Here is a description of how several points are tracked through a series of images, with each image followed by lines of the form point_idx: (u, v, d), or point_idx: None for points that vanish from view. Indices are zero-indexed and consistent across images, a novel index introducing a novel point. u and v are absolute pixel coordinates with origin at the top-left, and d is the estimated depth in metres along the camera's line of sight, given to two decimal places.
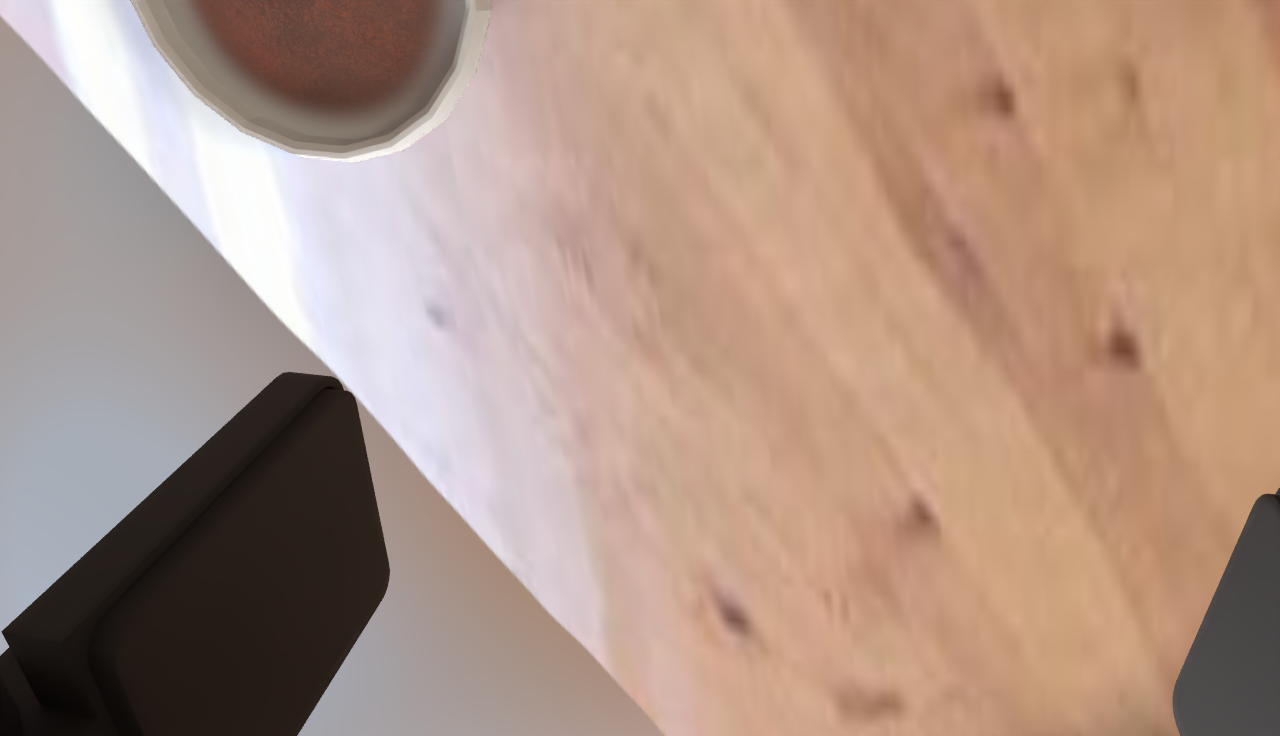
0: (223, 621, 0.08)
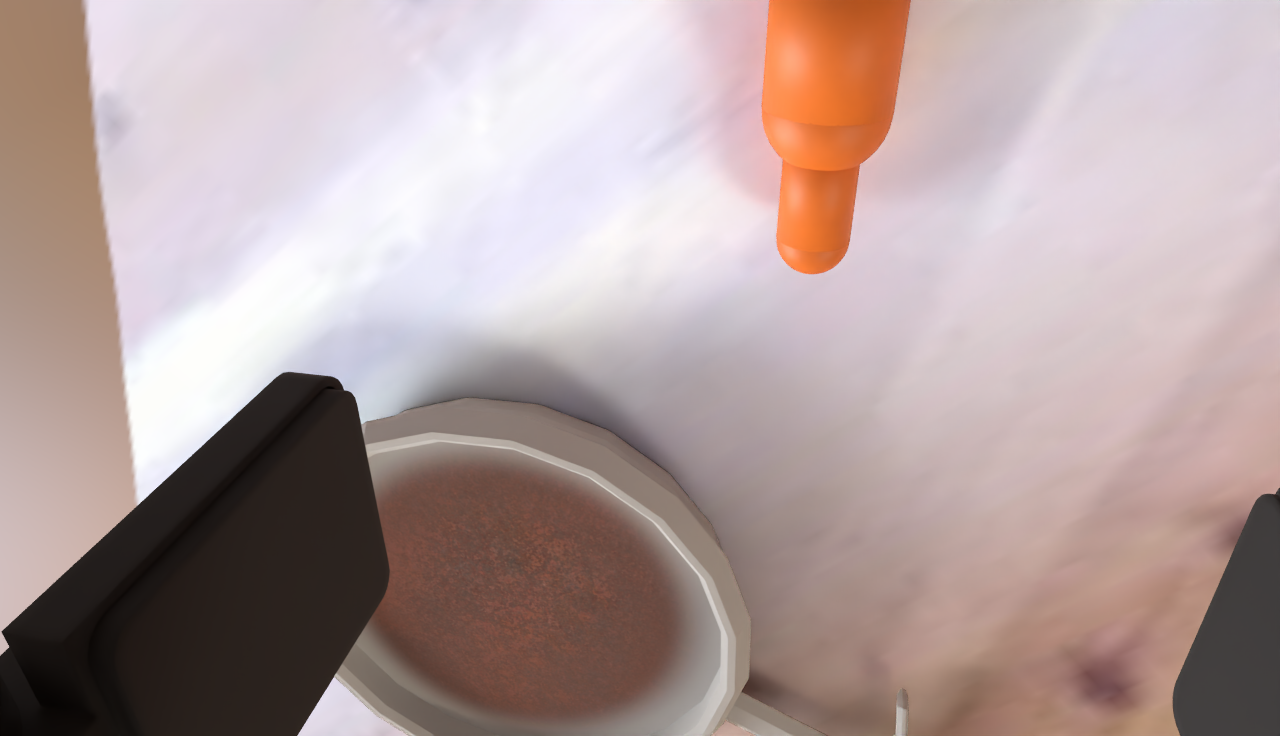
0: (223, 621, 0.08)
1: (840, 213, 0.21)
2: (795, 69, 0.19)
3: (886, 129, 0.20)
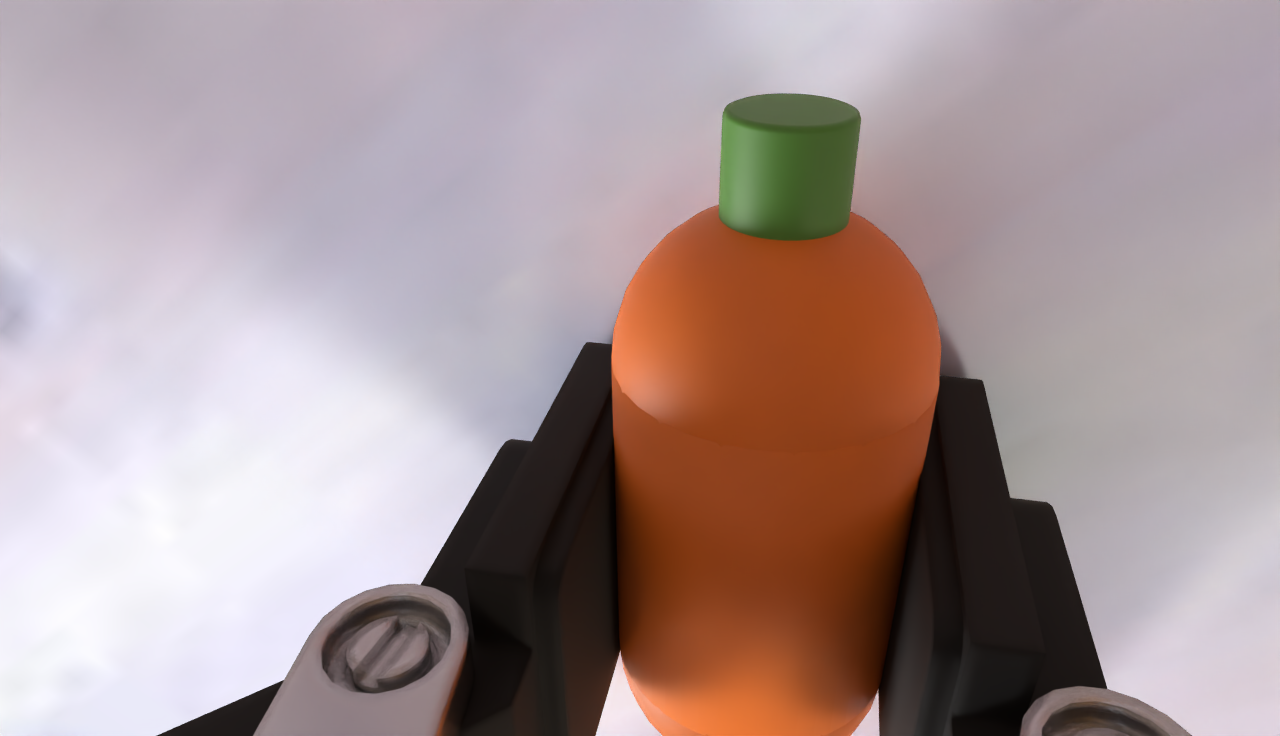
0: (594, 569, 0.08)
1: None
2: (667, 639, 0.09)
3: (870, 706, 0.10)
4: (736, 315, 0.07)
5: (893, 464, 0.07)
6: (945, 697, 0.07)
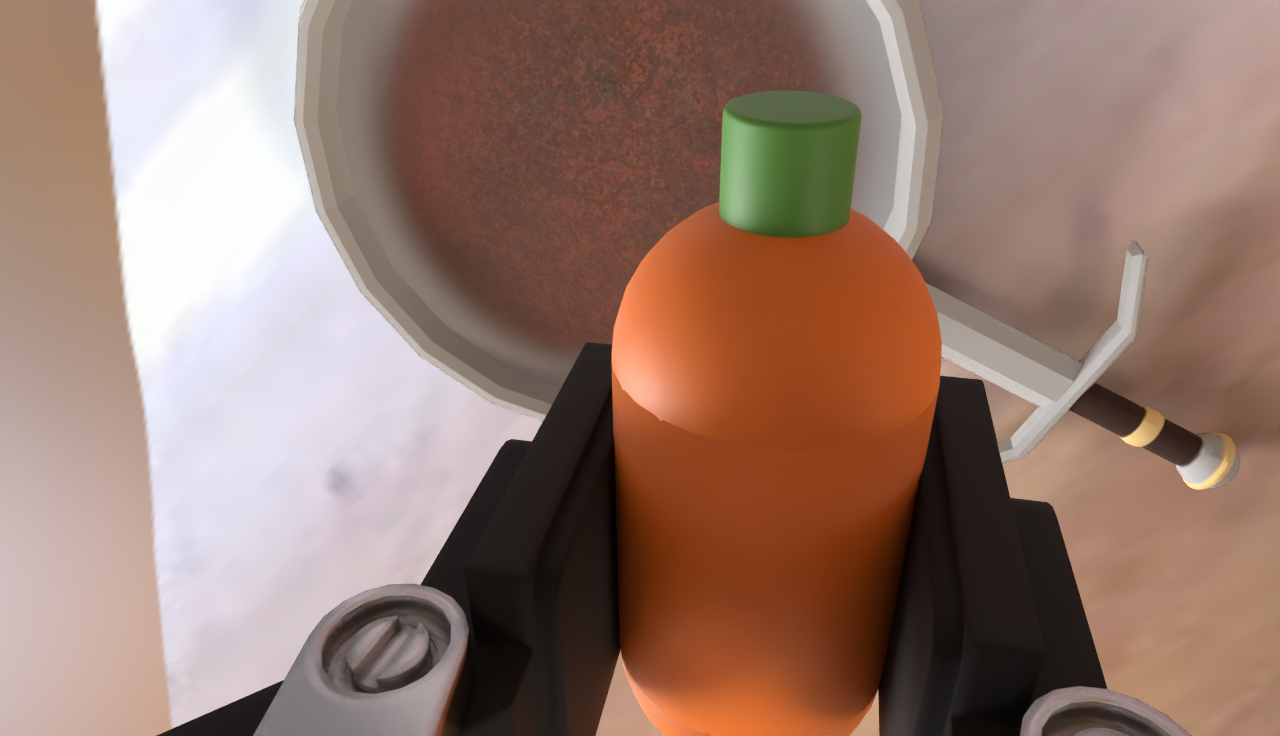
0: (593, 569, 0.08)
1: None
2: (667, 637, 0.09)
3: (871, 704, 0.10)
4: (736, 312, 0.07)
5: (893, 462, 0.07)
6: (945, 697, 0.07)
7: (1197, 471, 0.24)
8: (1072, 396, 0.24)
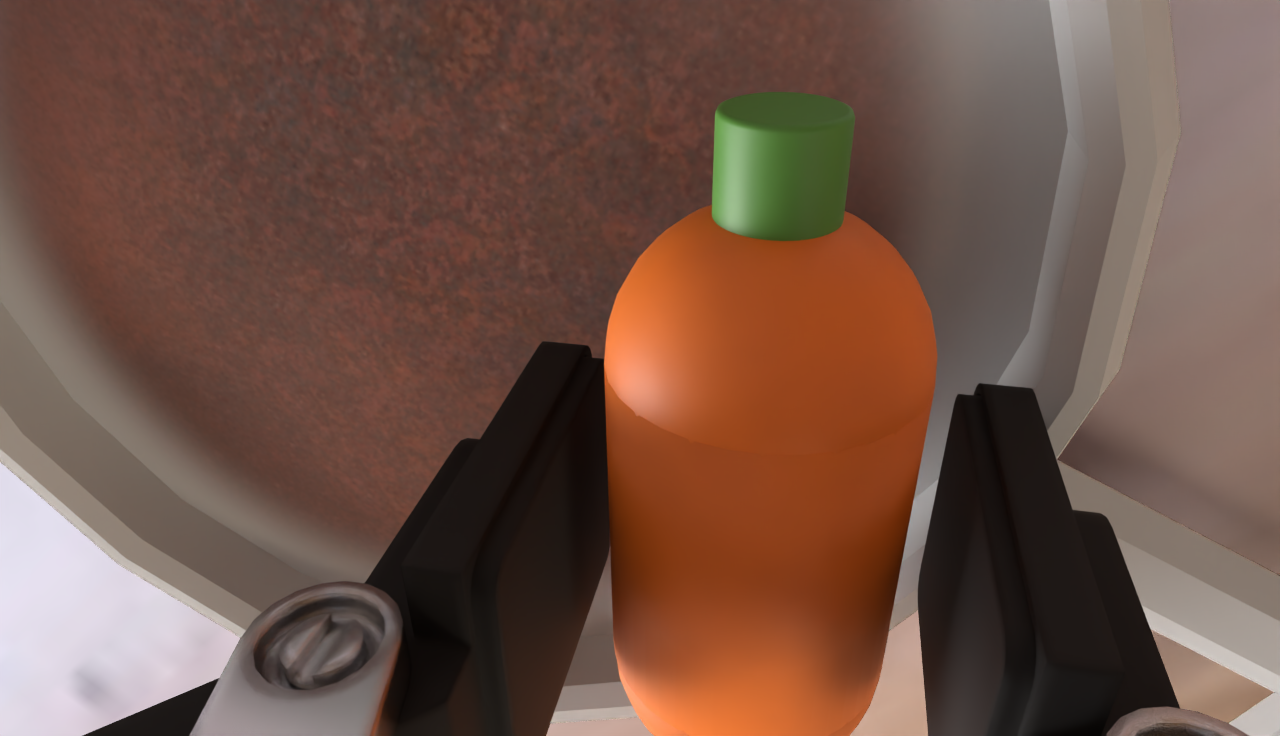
0: (540, 567, 0.08)
1: None
2: (646, 632, 0.09)
3: (858, 721, 0.09)
4: (710, 312, 0.07)
5: (871, 475, 0.07)
6: (1015, 717, 0.07)
7: None
8: None
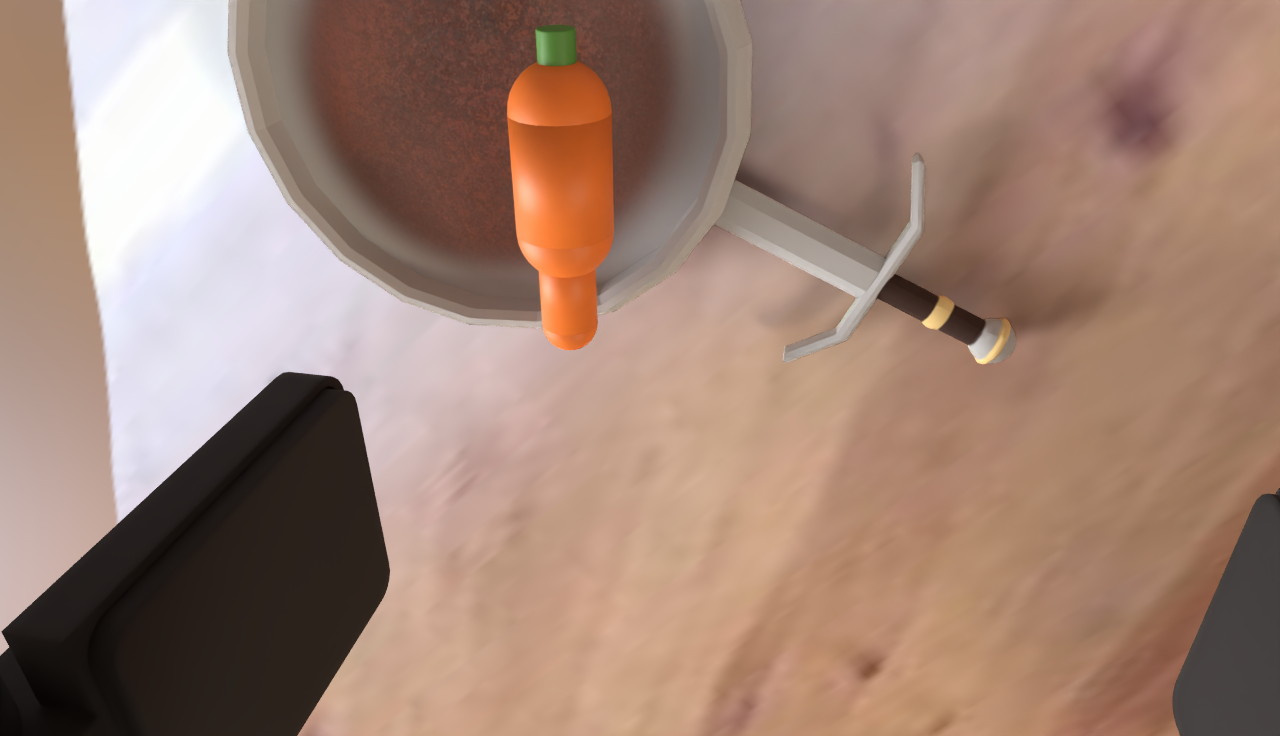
0: (223, 621, 0.08)
1: (550, 306, 0.28)
2: None
3: (554, 256, 0.26)
4: None
5: (530, 137, 0.25)
6: None
7: (981, 347, 0.30)
8: (878, 285, 0.29)
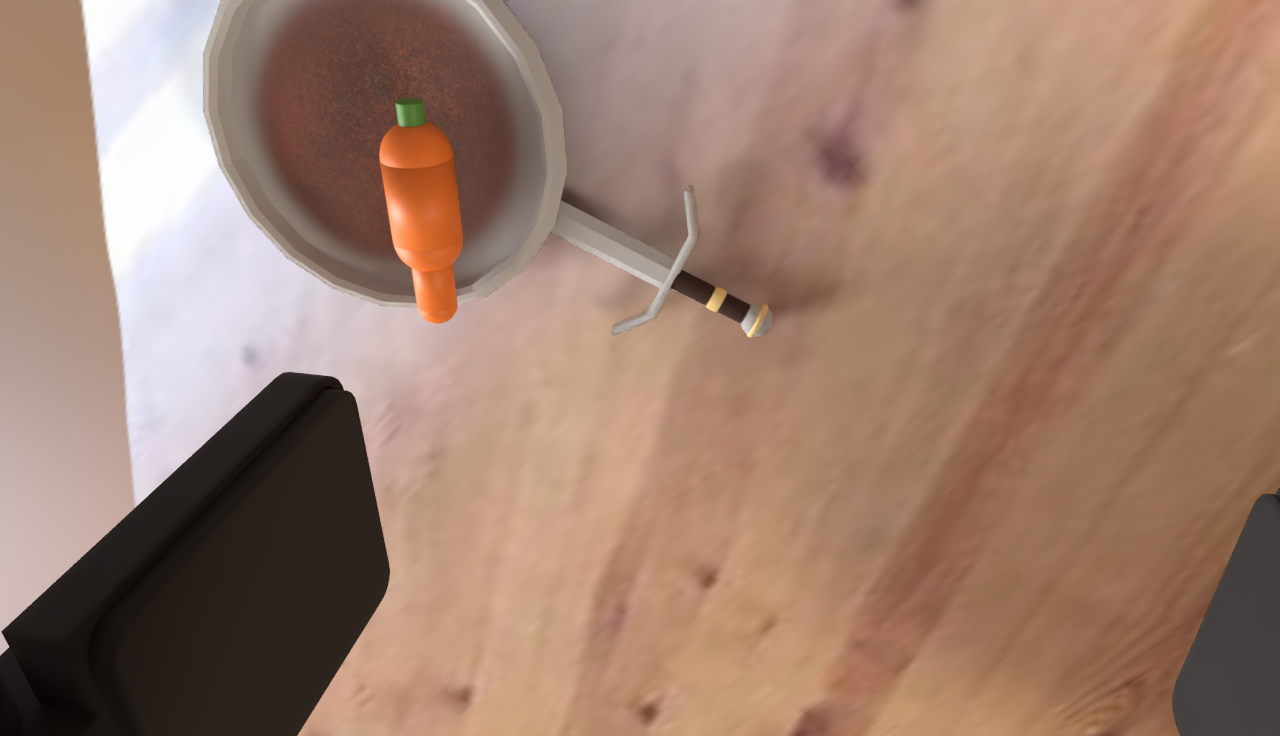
0: (223, 621, 0.08)
1: (416, 290, 0.40)
2: None
3: (406, 255, 0.38)
4: None
5: (386, 173, 0.36)
6: None
7: (746, 325, 0.41)
8: (670, 279, 0.41)
